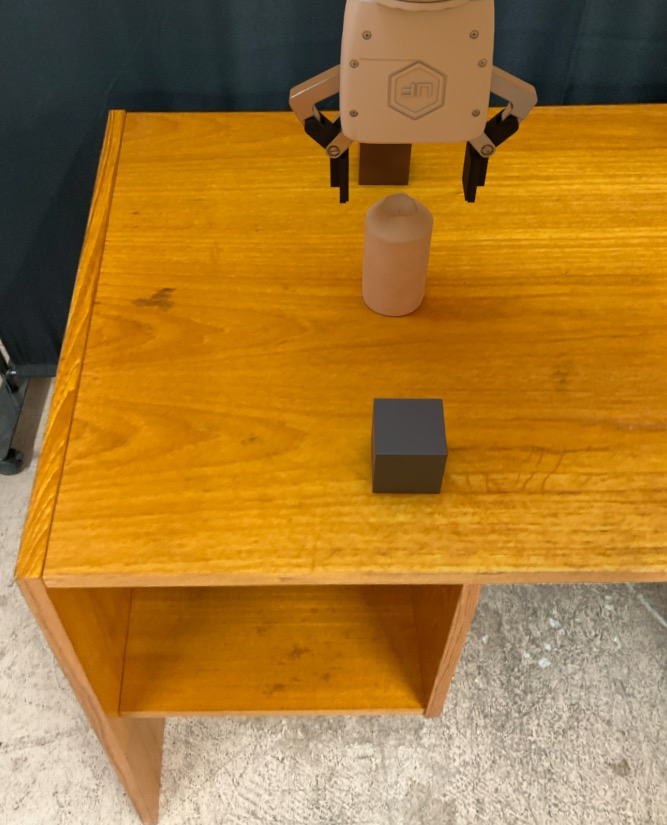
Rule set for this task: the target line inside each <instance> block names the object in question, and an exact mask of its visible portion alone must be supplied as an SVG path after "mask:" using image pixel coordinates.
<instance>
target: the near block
mask: <svg viewBox="0 0 667 825" xmlns="http://www.w3.org/2000/svg"><path fill="white" fill-rule="evenodd" d="M443 401H444V400H443V398H401V397H400V398H399V397H398V398H397V397H395V398H393V397H392V398H390V397H389V398H388V397H387V398H386V397H385V398H382V397H379V398H378V397H374V398H373V401H372V402H373V404H372V418H371V431H370V432H371V433H370V446H371V447H370V452H371V453H370V454H371V458H370V459H371V460H370V461H371V491H372V493H376V494H377V493H385V494H386V493H387V494H389V493H391V494H392V493H393V494H403V493H404V494H440V493H441V489H442V485H443V484H442V483H443V479H444V475H445V470H446V465H447V460H448V456H449V455H448V443H447V434H446V422H445V412H444V402H443Z"/></svg>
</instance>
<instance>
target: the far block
mask: <svg viewBox="0 0 667 825" xmlns="http://www.w3.org/2000/svg"><path fill="white" fill-rule="evenodd" d="M357 143H358V144H357V173H358V174H357V175H358V178H357V182H358V185H367V186H368V185H371V186H372V185H373V186H375V185H377V186H378V185H379V186H380V185H382V186H383V185H385V186H387V185H389V186H408V185H409V180H410V168H411V158H412V147H413V143H410V144H377V143H360V142H357Z"/></svg>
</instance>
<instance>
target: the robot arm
mask: <svg viewBox="0 0 667 825" xmlns="http://www.w3.org/2000/svg"><path fill="white" fill-rule="evenodd" d="M494 44H495V0H346V2H345V8H344V15H343V26H342V35H341V44H340V45H341V46H340V62H339V64H337V65H335V66H333V67H331V68H328V69H326V70H325V71H323V72H321V73H319V74H317V75H315V76H313V77H311V78H309V79H307V80H305V81H302V82H301V83H299V84H297V85H295V86H293V87H292V88H291V89H290V90H289V97H288V105H289V107H290V108H291V110H292V112H293V114H295V117H296V118H297V120H298V121H299V122H300V123H301V125H302V126H303V130H304V132H305V134H306V135H307V136H309V137H310V138H311V139H312V140H313V141H314V142H315V143H316V144H318V145H319V146H320V147H321V148H322V149H324V151H325V154H326V156H327V157H328V158H329V180H330V181H329V183H330V185H329V186H330V188H339V204H347V203H349V202H350V146H352V144H353V143H354V142H356V143H358V142H360V143H377V144H410V143H412V144H458V143H465V142H466V144H465V152H464V160H463V167H462V173H461V174H462V175H461V184H462V189H463V190H462V191H463V197H464V201H465V202H467V204H469V203H471V204H474V203H475V202H476V197H477V190H478V187H485V185H486V179H487V172H488V166H489V160H490V157H492V156H493V155H495V153H496V150H497V147H499V146H500V145H502V144H503V143H504V142H506V140H508V139H509V138H510V137H512V136H513V135H514V134H516V133H517V132H518V131H519V128H520V125H521V123H522V122H523V121H525V119H526V118H527V117H528V116H529V114H530V113H531V111H532V110H533V109H534V108H535V106H536V105H537V103H538V102H539V101H538V95H537V91H536V88H535V86H533V84H530V83H528V82H526V81H524V80H523V79H520V78H519V77H517V76H515V75H513V74H511V73H509V72H507V71H505V70H503V69H502V68H500V67H498V66H496V65H494V64H493V63H494V62H493V61H494V60H493V59H494V47H495V45H494ZM491 93H492V94H494V95H496V96H497V97H499V98H501V99H504V100H505V101H507V102H508V103H507V104H506V105H507V106H506V107H505V108H503V109H501V110H500V111H499V112H497V113H496V114H495V115H493V117H491V118H490V119H489V120H488V114H489V104H490V95H491ZM336 94H339V113H338V114H337V115H335V117H334V118H333V119H332V120H330V119H328V117H326V115H324V114H323V113H322V112H321V111H320V110H318V109H317V107H316V104H317V103H320V102H321V101H324V100H326V99H328V98H330V97H332V96H333V95H336Z"/></svg>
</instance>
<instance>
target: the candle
mask: <svg viewBox="0 0 667 825" xmlns="http://www.w3.org/2000/svg"><path fill="white" fill-rule="evenodd" d="M433 227H434V217H433V213H432V212H431V211H430V209H429V208H428V207H427V206H425V205H424V204H423V203H422V202H420V201H419V200H417V199H415V198H414V197H412V196H410V195H409V194H408V193H405V192H396V193H392V194H389V195H387V196H385V197H383V198H382V199H380V200H378V201H377V202H375V203H373V204H372V205H371V206H369V208H368V209H367V210H366V213H365V217H364V233H363V234H364V237H363V254H362V255H363V258H362V279H361V295H362V299H363V302H364V303H365V305H366V306H367V307H368V308H369V309H371V310H372V311H373V312H375V313H376V314H379V315H383V316H385V317H401V316H406V315H409V314H411V313H413V312H415V311H416V310H418V308H419V307H420V306H421V305H422V302H423V299H424V297H425V296H424V295H425V290H426V282H427V274H428V266H429V259H430V251H431V243H432V234H433Z"/></svg>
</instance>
